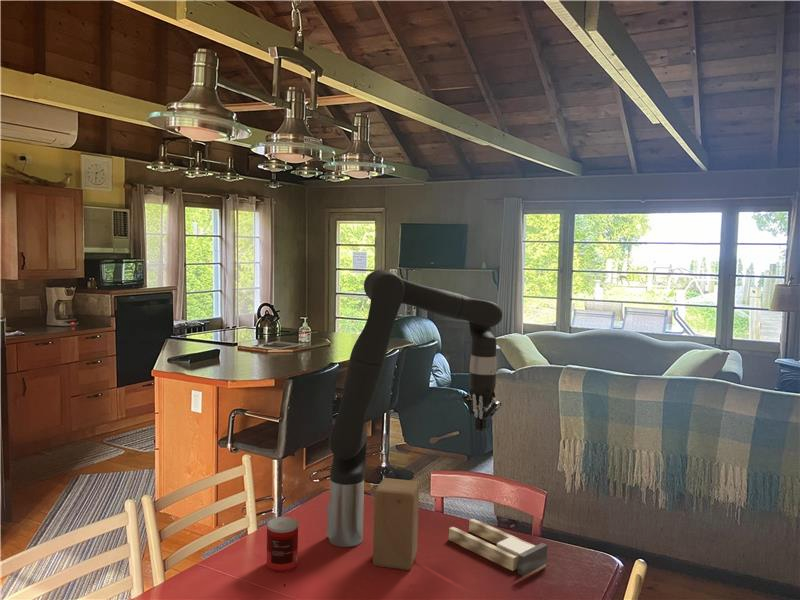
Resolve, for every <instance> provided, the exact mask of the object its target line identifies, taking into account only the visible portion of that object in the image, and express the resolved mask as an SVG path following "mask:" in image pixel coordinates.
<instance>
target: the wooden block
mask: <svg viewBox="0 0 800 600" xmlns="http://www.w3.org/2000/svg"><path fill="white" fill-rule="evenodd" d="M419 502H420V483H419V482H418V481H417V480H410V479H399V478H389V477H384V478H382V480H381V481H380V483H379V484H378V486H377V487H376V489H375V491H374V507H373V509H374V510H373V540H372V541H373V542H372V544H373V545H372V546H373V547H372V563H373V565H374V566H376V567H382V568H383V567H384V568H391V569H397V570H407V571H409V570H411V569H412V565H413V564H414V561H415V559H416V555H417V553H418V536H419V535H418V534H419V533H418V531H419Z"/></svg>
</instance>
